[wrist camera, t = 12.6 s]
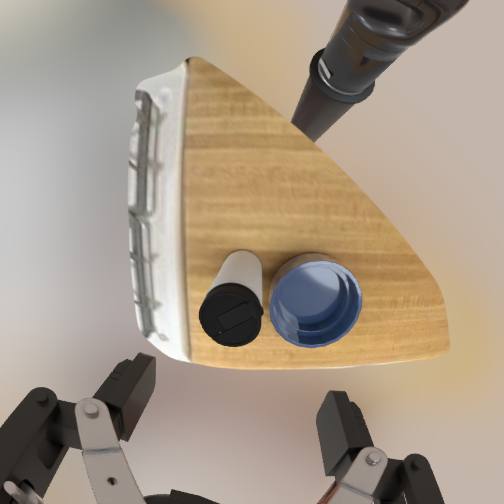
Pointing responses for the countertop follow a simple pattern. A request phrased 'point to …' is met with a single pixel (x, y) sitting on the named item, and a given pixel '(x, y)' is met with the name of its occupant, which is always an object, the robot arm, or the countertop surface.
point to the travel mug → (234, 301)
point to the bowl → (314, 300)
